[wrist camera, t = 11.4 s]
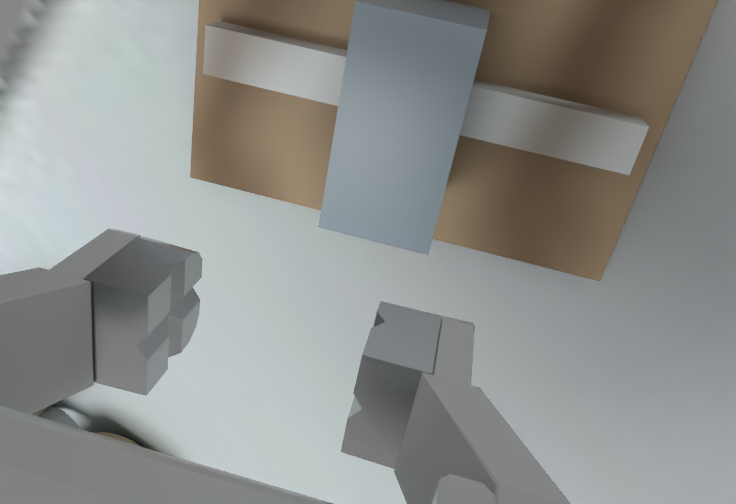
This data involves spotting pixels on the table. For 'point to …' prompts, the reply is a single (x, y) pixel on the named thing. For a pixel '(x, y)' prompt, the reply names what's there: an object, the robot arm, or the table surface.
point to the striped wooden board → (481, 121)
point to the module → (400, 117)
